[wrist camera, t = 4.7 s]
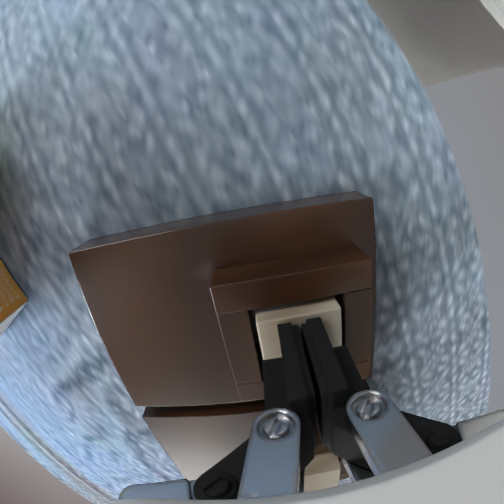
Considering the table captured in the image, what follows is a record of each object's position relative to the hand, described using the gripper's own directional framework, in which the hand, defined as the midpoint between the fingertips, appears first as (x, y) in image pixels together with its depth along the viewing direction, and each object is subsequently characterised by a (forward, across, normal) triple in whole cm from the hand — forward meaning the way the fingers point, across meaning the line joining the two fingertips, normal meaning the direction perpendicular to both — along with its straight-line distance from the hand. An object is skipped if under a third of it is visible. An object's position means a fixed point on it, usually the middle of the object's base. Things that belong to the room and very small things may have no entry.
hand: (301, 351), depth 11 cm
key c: (+2, 0, 0) cm, 2 cm away
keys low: (+4, +3, 0) cm, 5 cm away
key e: (+1, 0, +11) cm, 11 cm away
